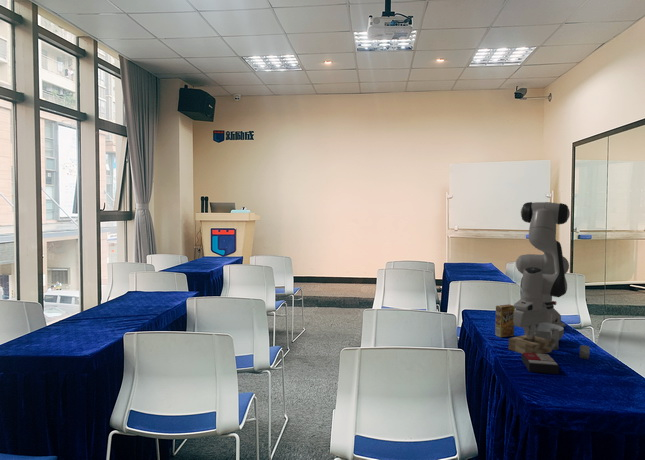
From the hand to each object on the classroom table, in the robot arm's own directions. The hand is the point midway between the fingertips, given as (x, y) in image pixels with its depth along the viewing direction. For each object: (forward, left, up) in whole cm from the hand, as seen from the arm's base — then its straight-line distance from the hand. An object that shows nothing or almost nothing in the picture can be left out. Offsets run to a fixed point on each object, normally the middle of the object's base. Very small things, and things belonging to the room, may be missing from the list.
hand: (530, 334), depth 210 cm
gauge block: (0, 0, -8) cm, 8 cm away
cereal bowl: (-20, -6, -8) cm, 22 cm away
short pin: (-12, +18, -8) cm, 23 cm away
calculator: (+15, +15, -8) cm, 22 cm away
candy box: (-10, -21, -8) cm, 24 cm away
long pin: (0, 0, -7) cm, 7 cm away
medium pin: (-12, +4, -8) cm, 15 cm away
